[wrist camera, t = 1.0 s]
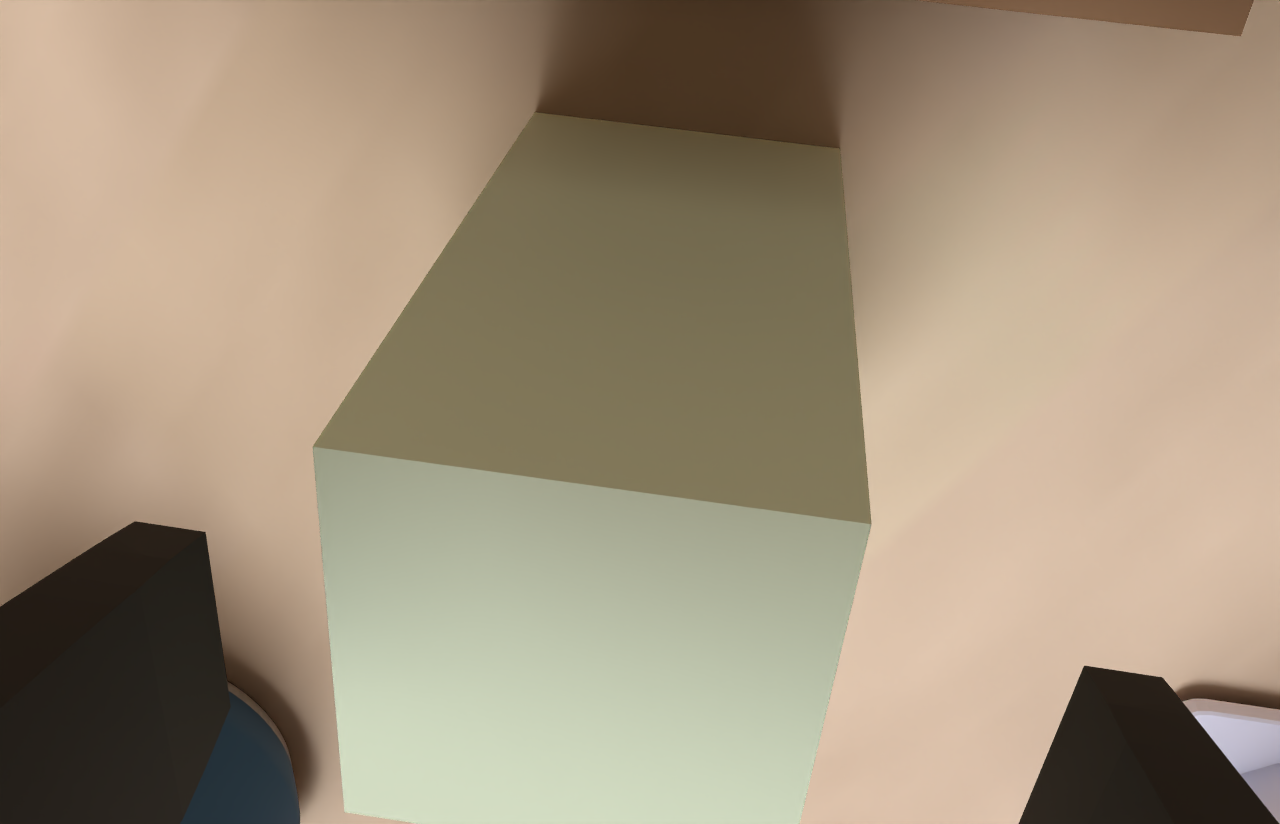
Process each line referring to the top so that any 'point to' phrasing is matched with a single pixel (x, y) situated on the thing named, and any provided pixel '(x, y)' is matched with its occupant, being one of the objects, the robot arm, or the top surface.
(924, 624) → the top surface
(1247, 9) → the walnut collar
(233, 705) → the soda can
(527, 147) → the sage peg
